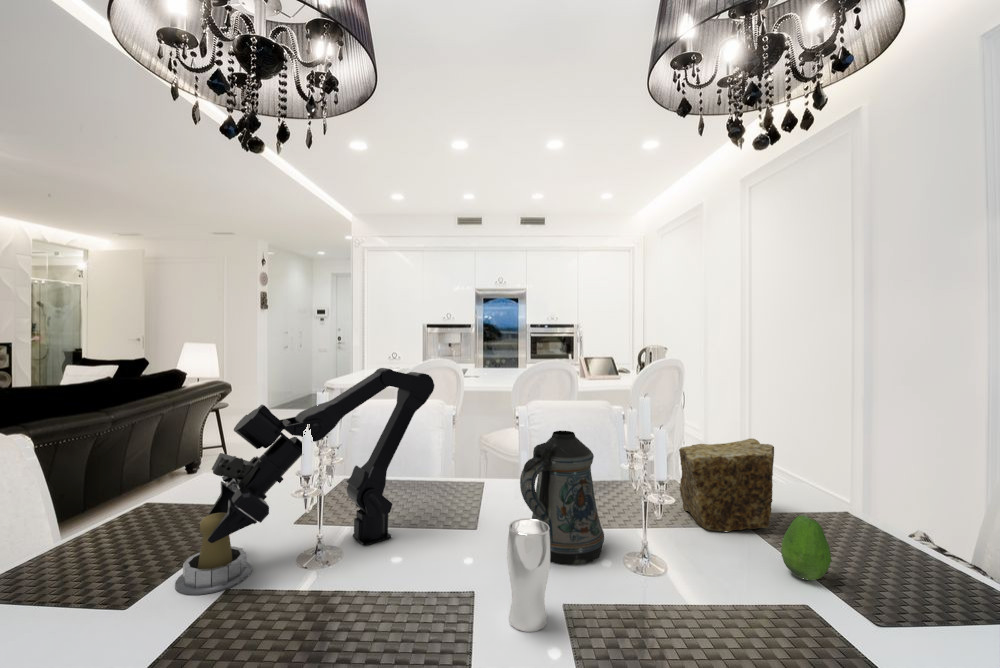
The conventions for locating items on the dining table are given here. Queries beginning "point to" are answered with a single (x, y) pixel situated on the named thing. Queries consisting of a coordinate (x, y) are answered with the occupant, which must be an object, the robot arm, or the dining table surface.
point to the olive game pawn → (213, 544)
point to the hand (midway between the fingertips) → (207, 532)
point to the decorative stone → (728, 484)
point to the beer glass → (528, 572)
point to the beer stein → (564, 498)
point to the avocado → (806, 549)
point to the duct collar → (213, 575)
